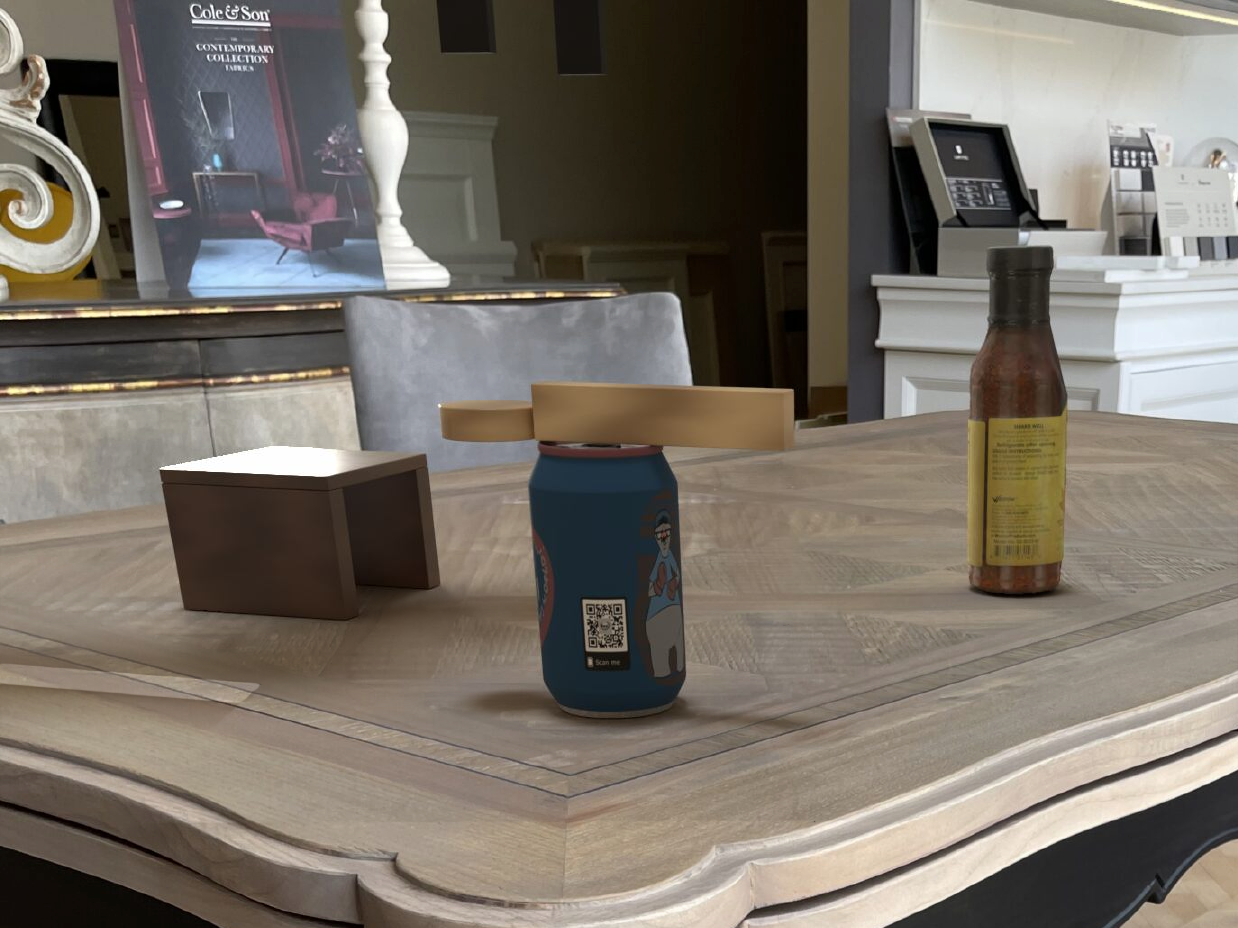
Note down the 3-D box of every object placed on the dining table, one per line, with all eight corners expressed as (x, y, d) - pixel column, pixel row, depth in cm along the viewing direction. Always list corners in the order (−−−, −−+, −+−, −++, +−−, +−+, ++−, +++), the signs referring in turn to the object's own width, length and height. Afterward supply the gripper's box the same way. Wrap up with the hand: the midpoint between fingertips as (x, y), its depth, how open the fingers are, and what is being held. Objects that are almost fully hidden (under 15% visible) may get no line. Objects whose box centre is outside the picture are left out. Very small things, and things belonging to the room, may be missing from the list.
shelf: (183, 609, 103) (158, 468, 99) (291, 575, 113) (272, 446, 109) (345, 620, 100) (326, 476, 97) (441, 584, 111) (426, 452, 107)
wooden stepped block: (423, 440, 77) (417, 382, 76) (469, 430, 81) (464, 375, 80) (773, 454, 74) (772, 394, 73) (804, 443, 78) (803, 386, 76)
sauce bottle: (1080, 589, 111) (1103, 245, 101) (1017, 601, 107) (1035, 245, 98) (1005, 575, 115) (1020, 244, 106) (942, 587, 111) (952, 244, 102)
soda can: (554, 687, 86) (534, 433, 81) (690, 687, 87) (680, 433, 81) (536, 722, 80) (513, 449, 75) (683, 721, 81) (671, 450, 75)
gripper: (433, -579, 69) (483, 41, 79) (664, -389, 90) (680, 81, 100) (272, -561, 71) (341, 43, 81) (536, -379, 92) (564, 82, 102)
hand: (529, 65), depth 91 cm, fingers open, 13 cm apart
